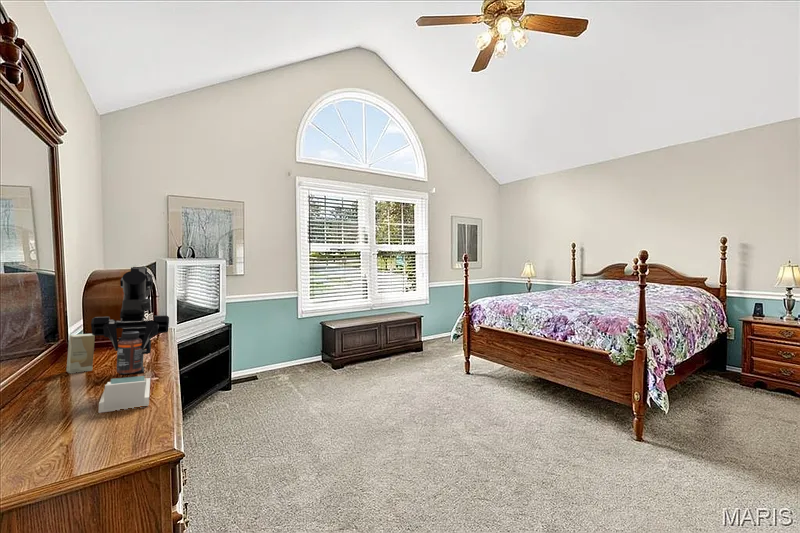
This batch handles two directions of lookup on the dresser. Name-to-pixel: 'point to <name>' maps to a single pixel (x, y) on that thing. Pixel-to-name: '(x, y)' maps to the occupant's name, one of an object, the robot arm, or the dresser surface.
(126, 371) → the supplement bottle
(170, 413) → the dresser surface
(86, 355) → the skincare box
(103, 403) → the lane
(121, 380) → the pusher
